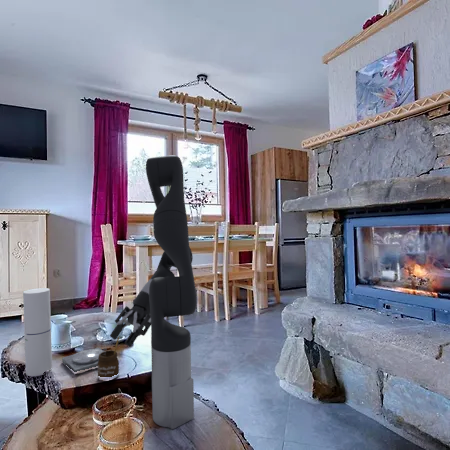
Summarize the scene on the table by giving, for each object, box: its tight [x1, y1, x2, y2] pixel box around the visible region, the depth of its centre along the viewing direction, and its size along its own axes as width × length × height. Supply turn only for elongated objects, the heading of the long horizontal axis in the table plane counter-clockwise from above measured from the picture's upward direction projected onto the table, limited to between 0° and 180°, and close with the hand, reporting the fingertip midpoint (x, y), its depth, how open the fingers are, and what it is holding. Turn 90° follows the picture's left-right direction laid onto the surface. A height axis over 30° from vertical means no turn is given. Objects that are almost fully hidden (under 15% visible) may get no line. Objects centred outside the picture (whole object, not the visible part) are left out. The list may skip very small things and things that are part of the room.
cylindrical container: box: [22, 287, 53, 377], centre depth 103 cm, size 7×7×25 cm
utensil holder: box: [96, 336, 120, 377], centre depth 99 cm, size 6×6×12 cm
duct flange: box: [61, 346, 104, 372], centre depth 109 cm, size 12×12×3 cm
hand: (119, 341), depth 102 cm, fingers open, 8 cm apart
